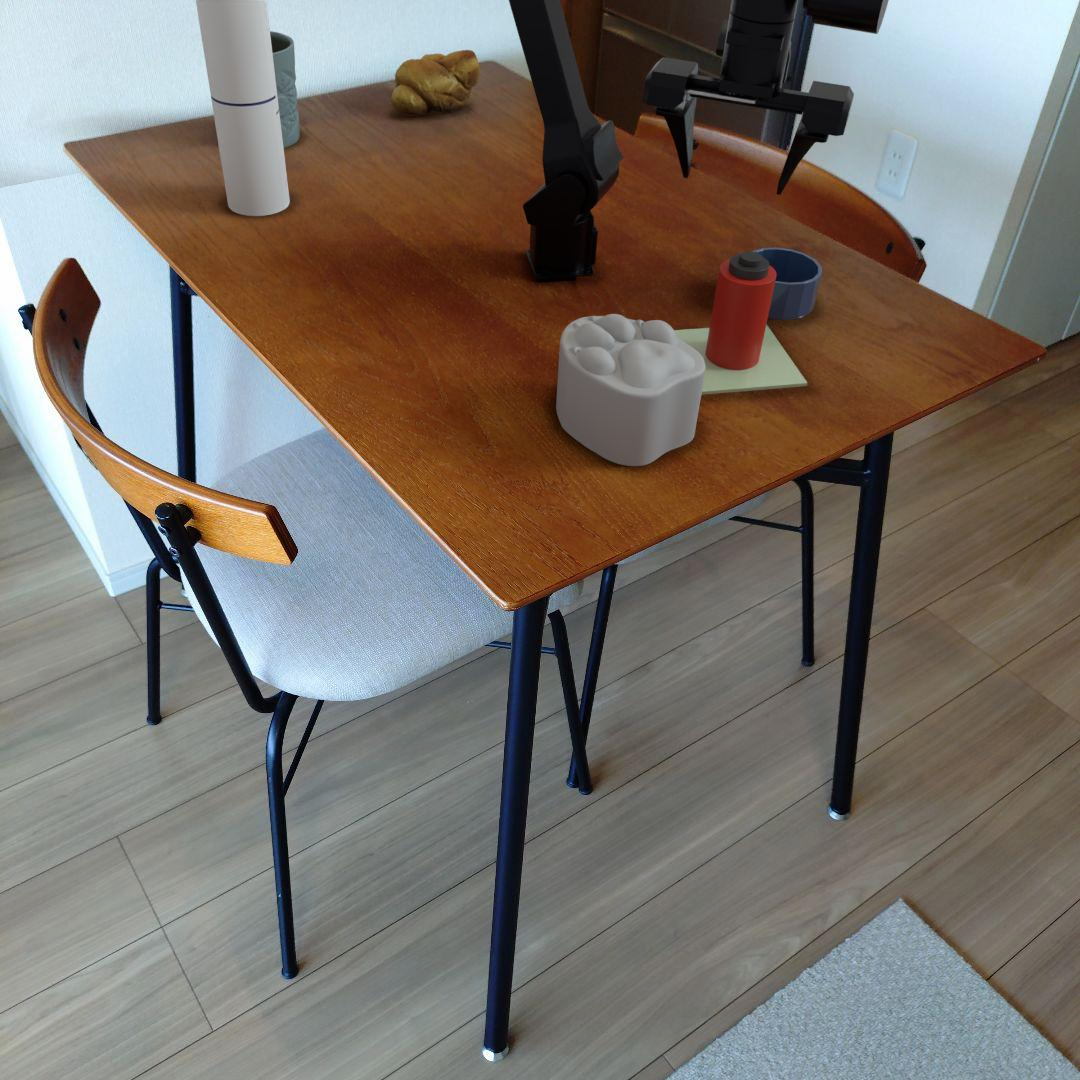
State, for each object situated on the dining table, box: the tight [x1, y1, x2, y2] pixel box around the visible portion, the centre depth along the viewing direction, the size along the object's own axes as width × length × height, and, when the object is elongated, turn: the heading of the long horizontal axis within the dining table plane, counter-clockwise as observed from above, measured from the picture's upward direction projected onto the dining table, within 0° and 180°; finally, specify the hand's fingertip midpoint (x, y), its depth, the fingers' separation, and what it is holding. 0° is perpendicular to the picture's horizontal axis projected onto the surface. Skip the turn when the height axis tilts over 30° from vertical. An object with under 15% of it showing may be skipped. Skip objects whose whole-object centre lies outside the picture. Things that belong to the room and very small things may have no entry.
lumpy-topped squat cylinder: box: [555, 313, 706, 467], centre depth 94 cm, size 10×13×9 cm
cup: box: [751, 247, 823, 321], centre depth 112 cm, size 8×8×4 cm
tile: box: [673, 324, 808, 396], centre depth 104 cm, size 11×11×1 cm
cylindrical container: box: [195, 0, 291, 217], centre depth 119 cm, size 7×7×25 cm
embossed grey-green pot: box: [270, 30, 301, 149], centre depth 138 cm, size 10×10×12 cm
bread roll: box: [390, 49, 481, 117], centre depth 150 cm, size 13×10×8 cm
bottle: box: [706, 250, 776, 370], centre depth 101 cm, size 5×5×10 cm
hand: (732, 184), depth 105 cm, fingers open, 9 cm apart
